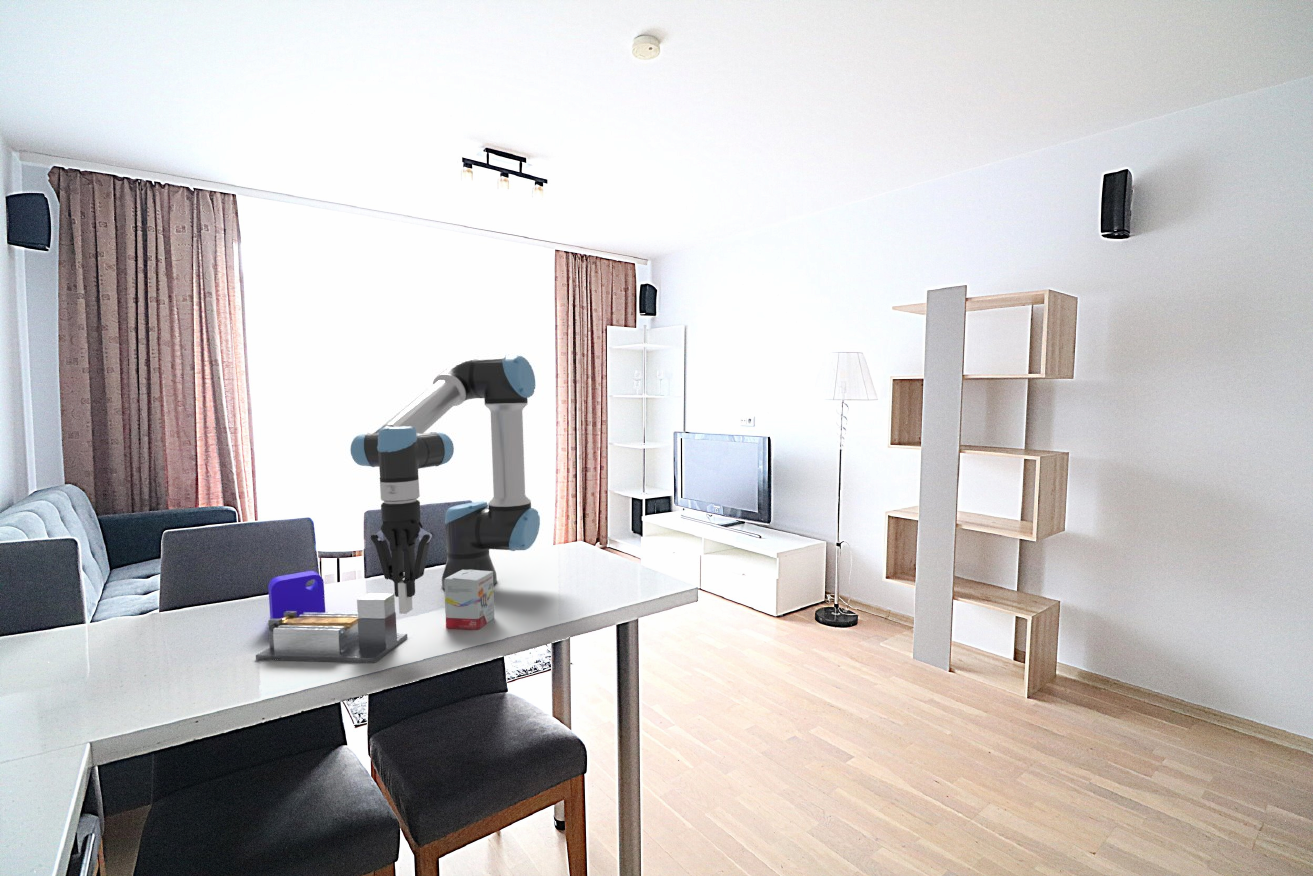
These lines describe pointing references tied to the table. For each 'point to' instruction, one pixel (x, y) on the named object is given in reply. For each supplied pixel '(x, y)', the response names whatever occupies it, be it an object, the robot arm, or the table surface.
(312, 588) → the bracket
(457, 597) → the ink box
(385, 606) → the white block
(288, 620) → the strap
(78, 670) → the table surface
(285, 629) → the base
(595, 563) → the table surface
